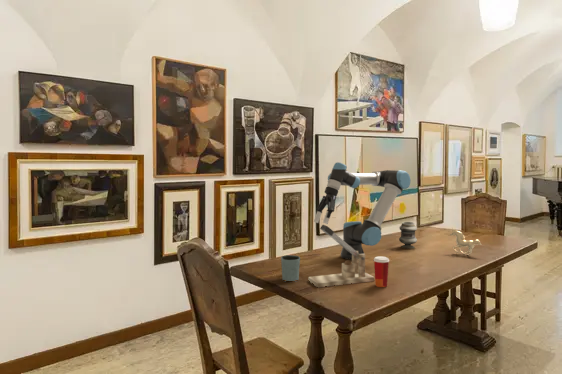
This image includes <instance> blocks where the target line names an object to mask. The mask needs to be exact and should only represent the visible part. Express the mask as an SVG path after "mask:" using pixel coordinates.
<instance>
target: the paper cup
mask: <svg viewBox="0 0 562 374" xmlns="http://www.w3.org/2000/svg"><path fill="white" fill-rule="evenodd" d="M389 262H390V259H389V257H386V256H375V257H374V258H373V264H374V266H373V267H374V282H375V283H374V284H375V286H376V287H377V288H386V287H388V281H389V279H388V278H389V277H388V276H389V265H390V263H389Z"/></svg>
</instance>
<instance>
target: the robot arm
mask: <svg viewBox="0 0 562 374" xmlns="http://www.w3.org/2000/svg"><path fill="white" fill-rule="evenodd" d="M347 168H348V165H346V164H344V163H342V162H338V161H337V162H335V163H334V164H333V167H332V169H331V173H329V174H328V176H327V184H326V186H325V189H324V193H325V195H323V196H322V198H321V200H320V201H319V204H318V205H317V207H316V214H315V217H314V219H313V222H314V223H316V224H319V223H320V222H319V221H320V219H321V216H322V214H323V210H324V209H325V207H326V206H327V210H326V213H325V215H324V218H323V221H322V223H323V224H324V225H325V224H326V225H328V223H329V221H330V218H331V215H332V214H333V213H334V212H335V207H336V200H337V197H338V195H339V194H338V193H339V190H340V188H341V186H343V187H344V186H347V187H349V188H352V189H356V188H358V187H359V186H360V185H365V186H366V185H371V186H373V187H382V188H384V190H383V191H382V193H381V195H380V197H379V198H378V201H377V202H376V204H375V205H374V207H373V209H372V211H371V213H370V215H369V216H368V218H367V219H364V220H363V222H362V221H360V220H357V221H345V222H344V223H343V226H342V230H343V231H342V232H343V233H342V235H343V238H342V240H343V241H345V242H346V243H347V244H348V245H349V246H351V247H352V248H353V249H354V250H355V251H358V253H359V254H365V252H364V248H363V246H362V245H365V246H371V247H372V246H376V245H377V244H379V243H380V241H381V239H382V223H383V222H384V220H385V218H386V217H387V214H388V213H389V211H390V209H391V208H392V205H393V204H394V202H395V200H396V199H397V197H398V195H401V194H402V192H403V190H407V189H409V187H410V186H411V176H410V174H409V172H407V171H405V170H401V169H400V170H397V169H396V170H395V169H394V170H393V169H392V170H388V169H387V170H381V171H379V170H378V171H372V172H351V171H348V169H347ZM340 258H341V259H344V258H345V260H350V261H352V254H351V253H350V252H348V251H347V250H346V249H345V248H344V247H342V249H341V252H340Z"/></svg>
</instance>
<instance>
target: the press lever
mask: <svg viewBox="0 0 562 374" xmlns="http://www.w3.org/2000/svg"><path fill="white" fill-rule="evenodd" d="M319 229H320V230H321V231H322V232H323V233H324V234H325V235H327V236H329V237H330V238H332V240H334V241H335V242H336V243H338V244H339V245H340V246H341V247H342V248H343V247H344V248H345V249H346V250H347V251H348V252H350V253H351V254H352V255H353V256H354V257H355V258H357V259H358V257H359V253H358V252H357V251H355V250H354V249H353V248H352V247H351V246H349V245H348V244H347V243H346V242H345V241H343V238H341V236H339V235H338V234H336V233H335V231H334V230H333V229H331V228H330V227H329V226H327V225H325V224H322V225H321V226H320V228H319Z"/></svg>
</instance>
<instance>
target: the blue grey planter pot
mask: <svg viewBox="0 0 562 374" xmlns="http://www.w3.org/2000/svg"><path fill="white" fill-rule="evenodd" d="M280 259H281V261H280V262H281V277H282V281H283V280H286V281H295V280H298V281H299V276H300V263H301V257H300V256H299V255H293V254H292V255H291V254H290V255H288V254H287V255H282V256H281V257H280ZM286 281H285V282H286ZM295 282H296V281H295Z"/></svg>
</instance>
